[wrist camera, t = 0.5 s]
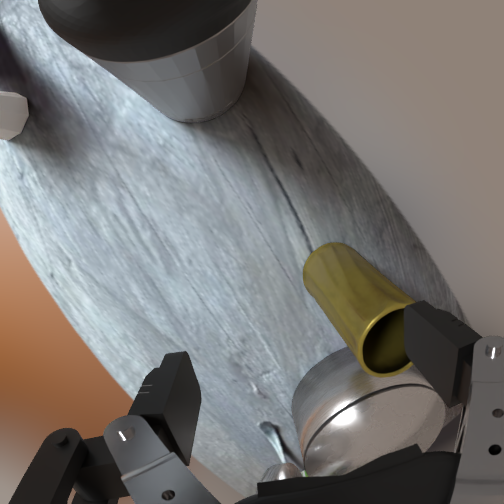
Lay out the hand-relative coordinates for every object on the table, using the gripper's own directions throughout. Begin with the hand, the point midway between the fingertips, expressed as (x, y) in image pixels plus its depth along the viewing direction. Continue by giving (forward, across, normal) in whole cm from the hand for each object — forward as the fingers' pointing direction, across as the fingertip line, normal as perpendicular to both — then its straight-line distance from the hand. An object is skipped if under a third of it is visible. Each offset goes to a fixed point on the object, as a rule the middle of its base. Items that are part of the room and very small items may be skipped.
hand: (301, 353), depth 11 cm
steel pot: (+21, -7, +21) cm, 30 cm away
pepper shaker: (+18, +24, -20) cm, 36 cm away
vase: (+20, -6, +4) cm, 21 cm away
